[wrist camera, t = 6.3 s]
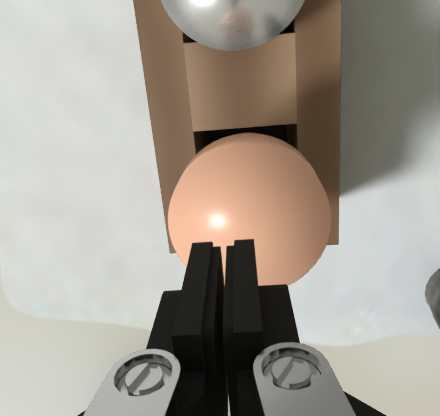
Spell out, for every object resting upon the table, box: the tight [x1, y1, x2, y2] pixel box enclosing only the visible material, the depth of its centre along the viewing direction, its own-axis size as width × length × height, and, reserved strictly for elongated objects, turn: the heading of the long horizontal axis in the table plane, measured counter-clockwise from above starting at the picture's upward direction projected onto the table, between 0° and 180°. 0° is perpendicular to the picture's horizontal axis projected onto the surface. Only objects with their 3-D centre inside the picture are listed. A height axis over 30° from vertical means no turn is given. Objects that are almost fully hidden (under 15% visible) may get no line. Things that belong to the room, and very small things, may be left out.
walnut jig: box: [133, 0, 341, 253], centre depth 22 cm, size 9×17×6 cm, turn 5°
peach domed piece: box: [168, 132, 331, 286], centre depth 19 cm, size 6×6×8 cm
